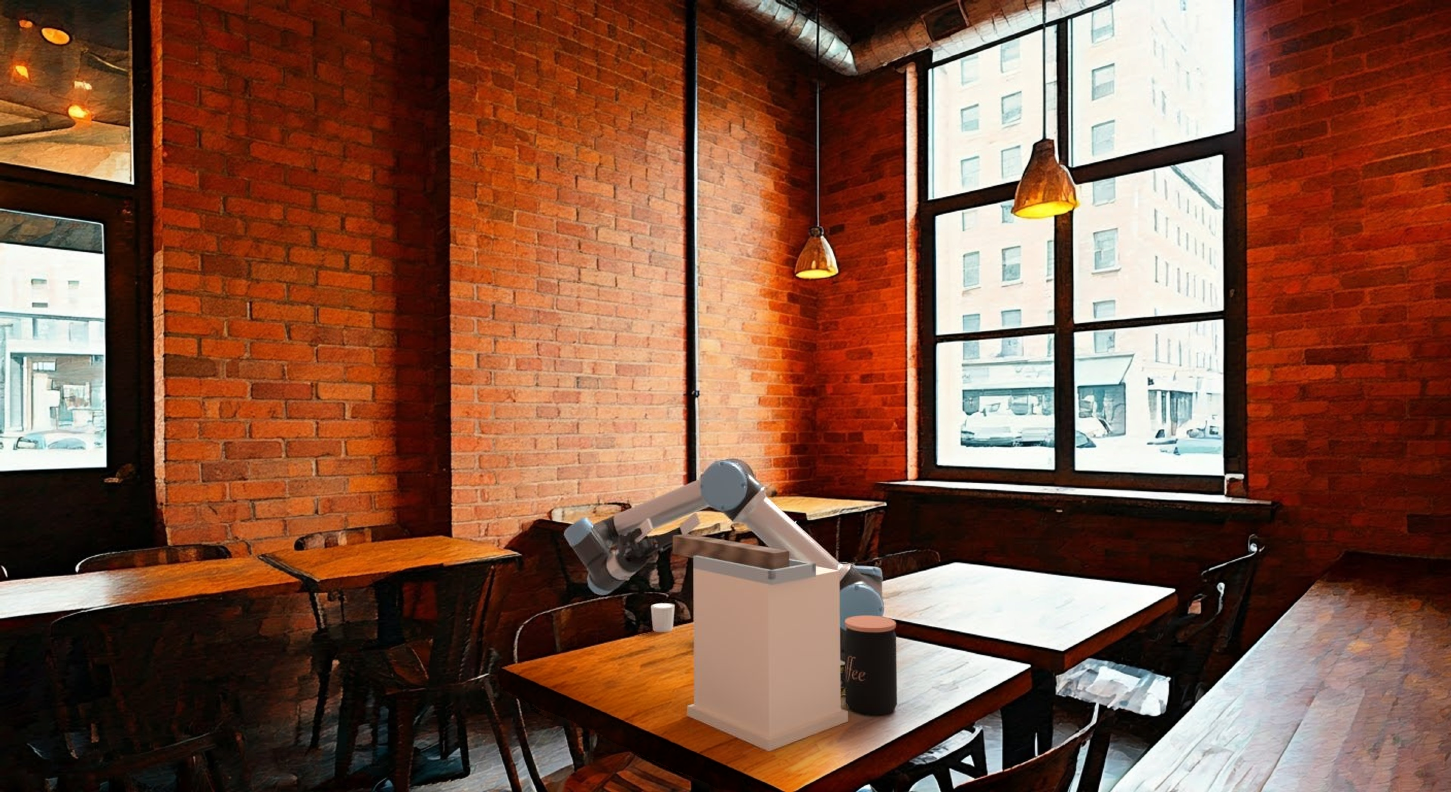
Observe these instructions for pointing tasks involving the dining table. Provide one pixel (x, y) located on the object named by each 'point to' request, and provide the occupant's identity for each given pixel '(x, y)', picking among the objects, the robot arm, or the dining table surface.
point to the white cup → (662, 617)
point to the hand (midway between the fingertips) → (674, 521)
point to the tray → (757, 570)
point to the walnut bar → (730, 551)
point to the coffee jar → (870, 665)
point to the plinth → (767, 657)
